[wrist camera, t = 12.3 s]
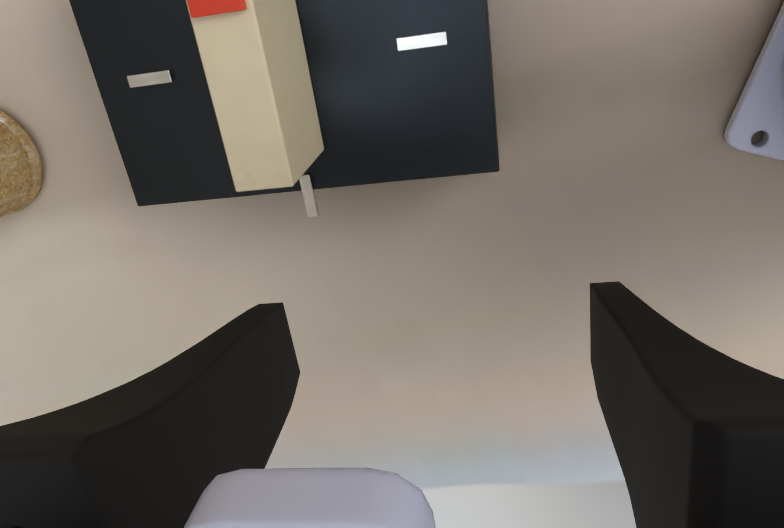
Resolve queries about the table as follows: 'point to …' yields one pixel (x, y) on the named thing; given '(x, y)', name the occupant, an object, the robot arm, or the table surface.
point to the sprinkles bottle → (17, 167)
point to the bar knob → (259, 88)
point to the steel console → (330, 88)
